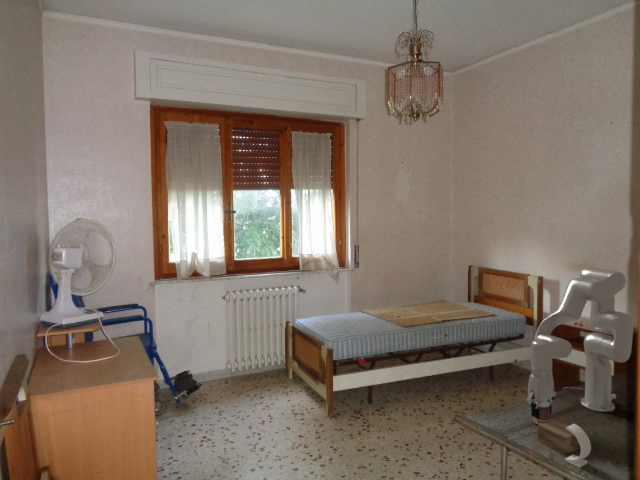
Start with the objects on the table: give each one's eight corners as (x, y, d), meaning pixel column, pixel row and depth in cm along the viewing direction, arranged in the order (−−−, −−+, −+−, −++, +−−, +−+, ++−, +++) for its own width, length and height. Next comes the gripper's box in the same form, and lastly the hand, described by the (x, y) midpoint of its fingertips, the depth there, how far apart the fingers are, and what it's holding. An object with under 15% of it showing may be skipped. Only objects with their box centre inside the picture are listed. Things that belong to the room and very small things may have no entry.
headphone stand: (573, 456, 163) (573, 423, 162) (590, 464, 158) (591, 430, 157) (565, 460, 161) (566, 427, 160) (582, 469, 156) (583, 434, 155)
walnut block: (558, 433, 179) (558, 418, 179) (585, 447, 170) (585, 431, 169) (537, 440, 175) (538, 424, 174) (564, 454, 165) (564, 438, 164)
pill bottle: (553, 422, 187) (553, 396, 186) (544, 427, 183) (544, 400, 182) (538, 417, 192) (538, 391, 191) (529, 421, 188) (529, 395, 187)
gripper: (548, 364, 193) (548, 406, 194) (518, 372, 185) (518, 416, 187) (565, 370, 186) (564, 413, 188) (534, 379, 179) (533, 424, 180)
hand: (541, 414), depth 187 cm, fingers closed on pill bottle, 6 cm apart
